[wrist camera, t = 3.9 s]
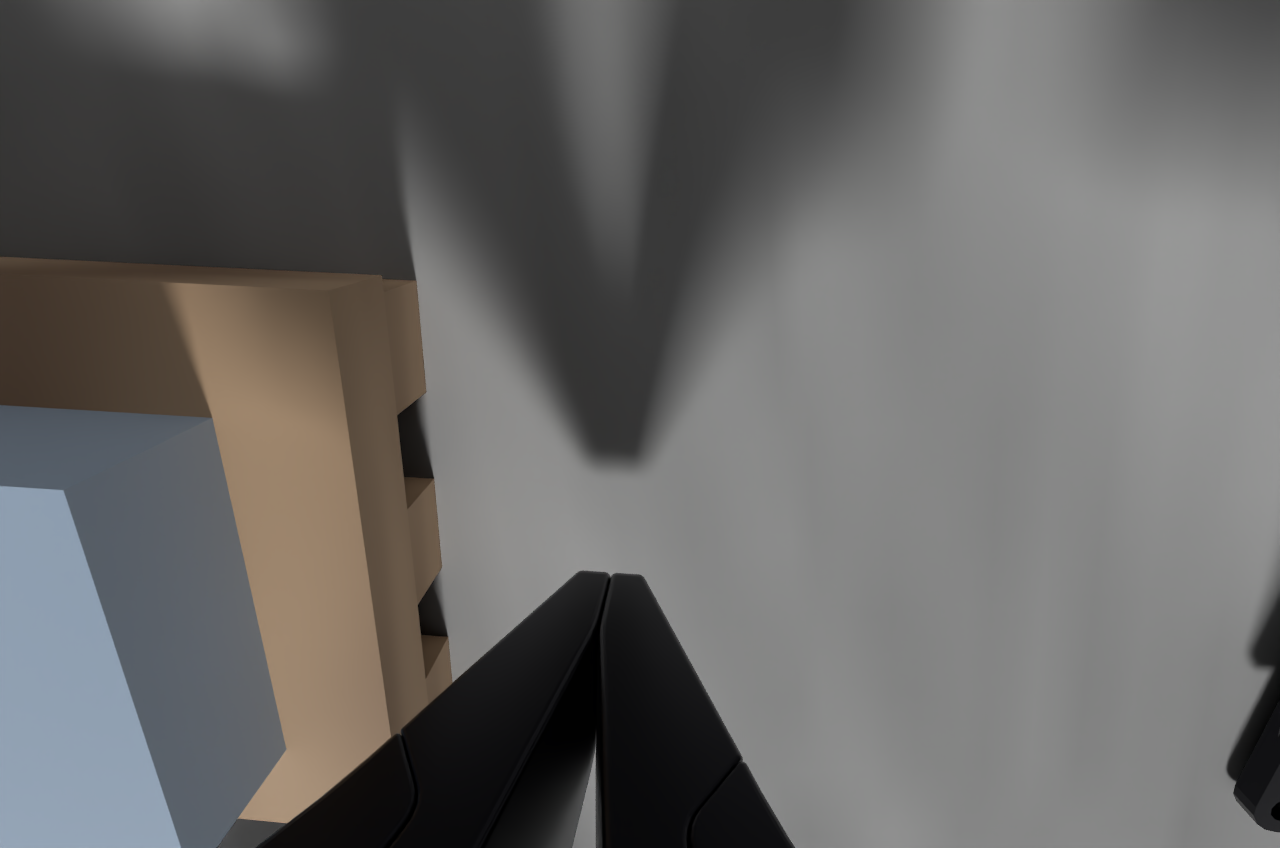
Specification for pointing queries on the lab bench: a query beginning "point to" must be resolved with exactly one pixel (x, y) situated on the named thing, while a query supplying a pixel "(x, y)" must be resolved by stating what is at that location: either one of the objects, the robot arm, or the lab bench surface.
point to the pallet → (271, 467)
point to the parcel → (125, 636)
